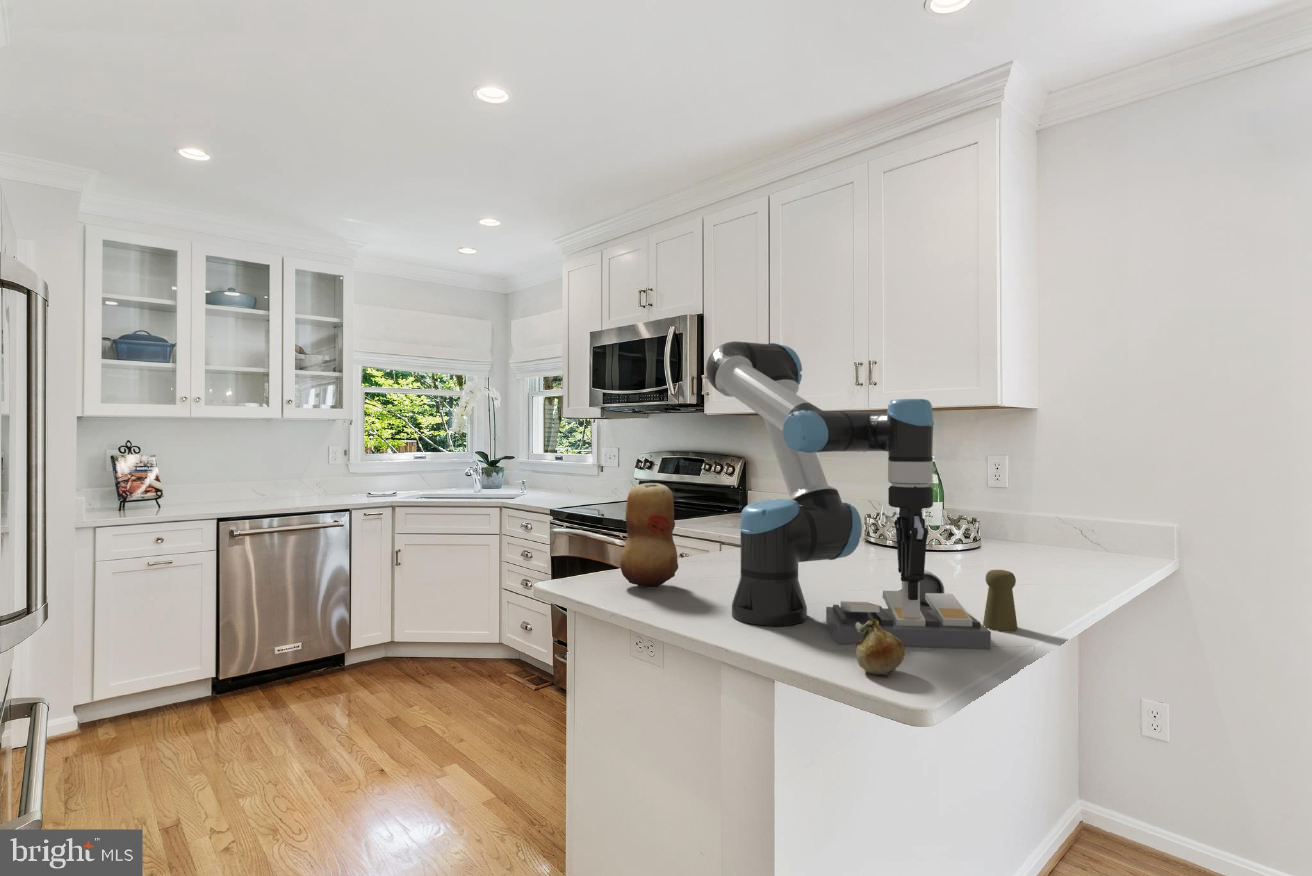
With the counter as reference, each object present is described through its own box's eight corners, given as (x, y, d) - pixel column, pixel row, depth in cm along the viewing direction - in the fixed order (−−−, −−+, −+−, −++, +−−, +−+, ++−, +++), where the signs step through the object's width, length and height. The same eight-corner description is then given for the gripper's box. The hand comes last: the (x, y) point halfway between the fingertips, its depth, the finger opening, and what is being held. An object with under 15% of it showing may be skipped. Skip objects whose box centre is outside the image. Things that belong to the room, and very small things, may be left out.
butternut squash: (631, 595, 156) (631, 486, 156) (613, 583, 169) (613, 482, 168) (686, 590, 161) (687, 485, 161) (666, 579, 174) (666, 481, 173)
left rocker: (850, 611, 122) (850, 604, 123) (840, 607, 133) (840, 600, 133) (879, 612, 122) (879, 605, 122) (866, 608, 133) (866, 601, 133)
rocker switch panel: (837, 644, 121) (838, 621, 121) (826, 621, 135) (826, 601, 135) (990, 648, 119) (990, 626, 119) (962, 626, 133) (962, 605, 133)
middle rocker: (896, 625, 122) (896, 619, 122) (882, 596, 133) (882, 590, 132) (925, 626, 122) (925, 620, 121) (909, 596, 132) (909, 590, 132)
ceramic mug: (937, 600, 152) (937, 566, 152) (945, 610, 144) (944, 573, 144) (887, 599, 155) (887, 565, 155) (892, 608, 147) (891, 572, 147)
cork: (1004, 633, 128) (1004, 575, 128) (975, 625, 133) (976, 569, 133) (1024, 629, 131) (1025, 571, 131) (996, 621, 136) (996, 566, 136)
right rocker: (942, 625, 121) (943, 618, 121) (925, 598, 132) (925, 592, 132) (972, 626, 121) (972, 619, 120) (951, 599, 131) (952, 593, 131)
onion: (851, 678, 105) (852, 626, 104) (855, 662, 112) (855, 613, 112) (904, 685, 102) (904, 631, 102) (904, 667, 109) (905, 617, 109)
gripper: (943, 487, 116) (944, 627, 116) (921, 482, 129) (921, 607, 129) (898, 487, 116) (898, 626, 116) (880, 482, 129) (881, 607, 129)
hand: (910, 616), depth 123 cm, fingers closed
